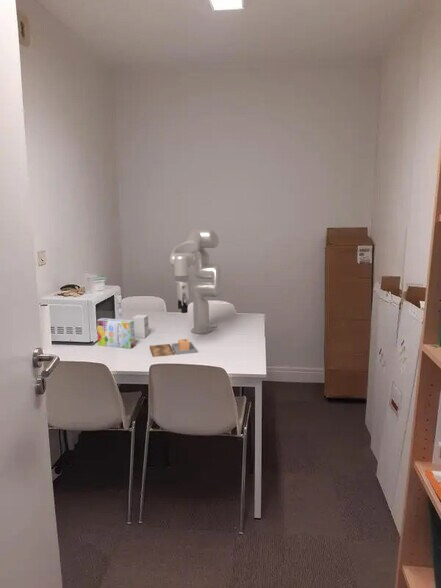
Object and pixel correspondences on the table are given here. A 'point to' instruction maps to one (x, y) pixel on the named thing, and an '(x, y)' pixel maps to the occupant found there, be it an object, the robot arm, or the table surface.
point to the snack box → (116, 332)
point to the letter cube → (183, 344)
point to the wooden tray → (161, 350)
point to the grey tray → (191, 350)
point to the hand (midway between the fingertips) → (182, 310)
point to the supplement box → (141, 326)
